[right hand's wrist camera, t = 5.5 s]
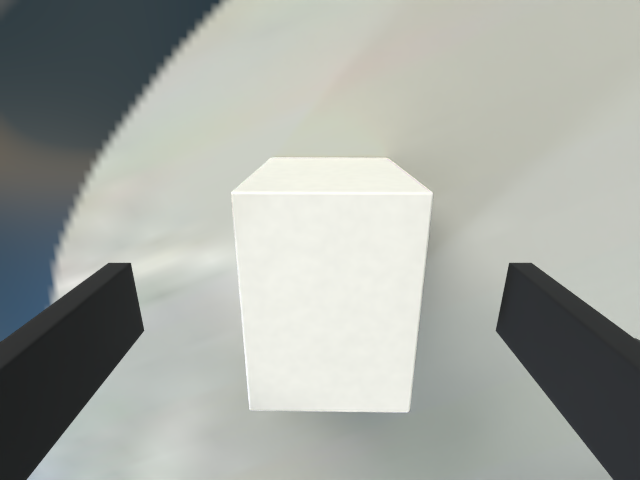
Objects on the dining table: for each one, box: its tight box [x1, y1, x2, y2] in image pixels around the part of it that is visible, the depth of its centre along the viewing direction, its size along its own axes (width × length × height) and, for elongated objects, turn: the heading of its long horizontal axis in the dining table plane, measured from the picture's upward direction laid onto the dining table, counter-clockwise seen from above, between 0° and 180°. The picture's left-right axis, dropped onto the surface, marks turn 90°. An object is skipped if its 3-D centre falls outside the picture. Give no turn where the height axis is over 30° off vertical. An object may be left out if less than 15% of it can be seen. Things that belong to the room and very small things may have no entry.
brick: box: [231, 157, 434, 413], centre depth 16 cm, size 6×8×8 cm
